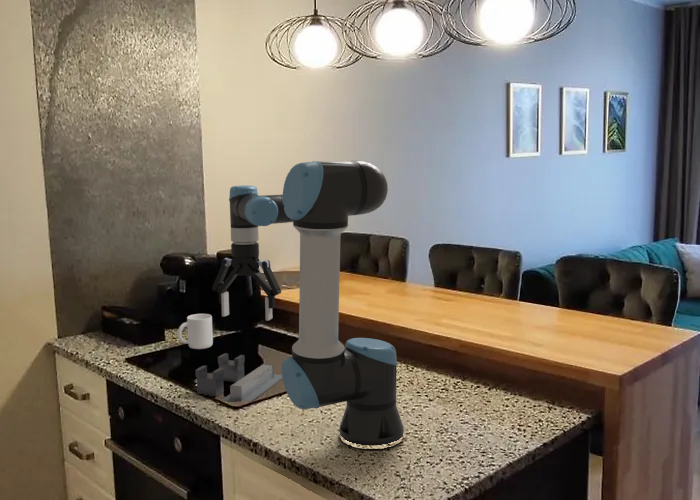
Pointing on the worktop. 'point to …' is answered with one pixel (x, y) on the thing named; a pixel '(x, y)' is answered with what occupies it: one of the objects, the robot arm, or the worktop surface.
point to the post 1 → (210, 381)
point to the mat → (260, 390)
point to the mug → (198, 331)
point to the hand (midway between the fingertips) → (247, 317)
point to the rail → (251, 382)
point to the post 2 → (232, 367)
